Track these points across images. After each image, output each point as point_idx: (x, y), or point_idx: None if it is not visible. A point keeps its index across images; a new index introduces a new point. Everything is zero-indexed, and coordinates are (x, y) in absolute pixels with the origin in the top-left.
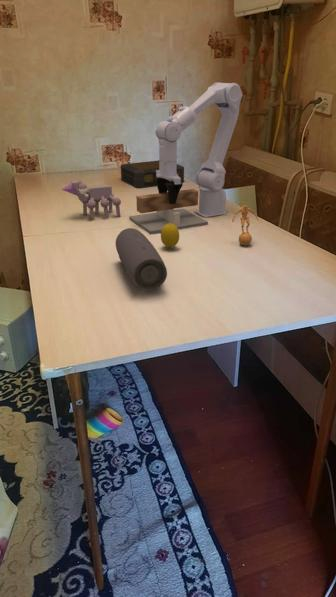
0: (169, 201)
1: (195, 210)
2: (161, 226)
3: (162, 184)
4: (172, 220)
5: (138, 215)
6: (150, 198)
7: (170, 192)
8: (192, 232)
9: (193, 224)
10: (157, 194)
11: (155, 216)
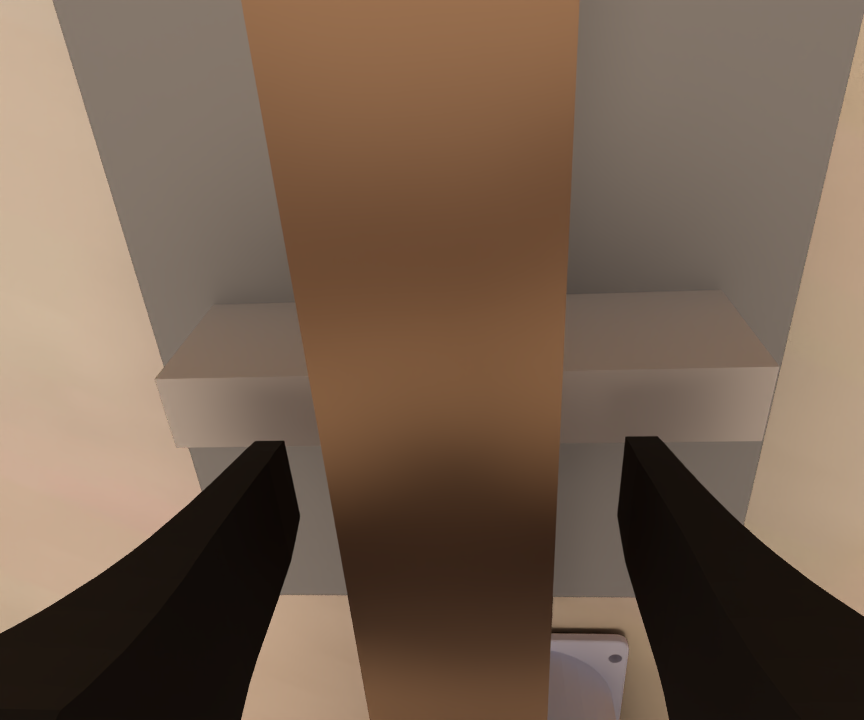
0: (251, 458)
1: (623, 652)
2: (204, 137)
3: (711, 709)
4: (256, 322)
5: (842, 10)
6: (272, 118)
7: (87, 594)
8: (53, 384)
9: (196, 472)
10: (480, 394)
11: (640, 236)
